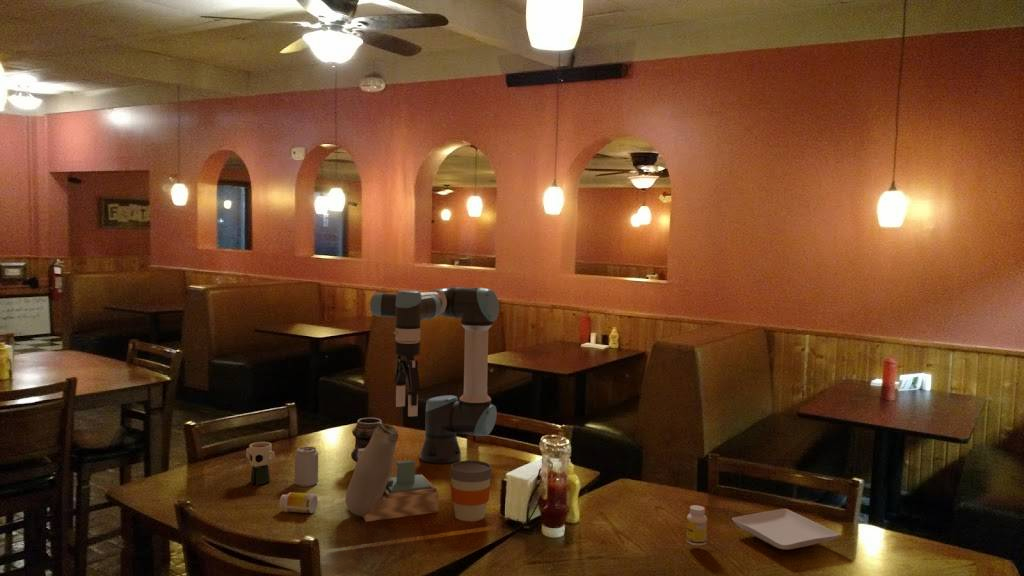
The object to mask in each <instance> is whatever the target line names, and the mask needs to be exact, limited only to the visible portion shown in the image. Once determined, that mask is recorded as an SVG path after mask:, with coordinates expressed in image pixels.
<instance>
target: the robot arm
mask: <svg viewBox="0 0 1024 576" xmlns="http://www.w3.org/2000/svg"><path fill="white" fill-rule="evenodd" d="M369 310H370V312H371V314H372V315H373V316H375V317H380V318H395V330H394V331H393V335H395V339H394V340H395V341H396V342H395V343H394V354H395V355H396V356H397V357H396V367H395V374H394V379H393V380H394V381H393V382H394V383H395V385H396V388H395V393H396V394H395V407H396V408H397V407H398V408H399V407H405V406H406V386H407V387H408V392H407V396H408V397H407V401H408V402H407V403H408V404H407V417H418V414H419V413H418V412H419V411H418V408H419V407H418V406H419V404H418V403H419V394H421V392H422V391H421V386H420V385H421V383H420V377H419V376H420V375H419V366H418V364H419V362H418V360H415V358H414V357H416V356H419V355H420V354H421V343H420V341H421V330H422V329H421V321H424V320H431V319H433V318H436V317H437V316H439V317H444V318H445V317H446V318H451V319H460V325H461V327H463V329H464V356H463V357H464V360H463V361H464V363H463V364H464V367H463V371H464V372H463V394H462V395H461V396H460V397H459V399H458V396H456V395H450V394H449V395H440V396H439V395H438V396H435V397H434V396H433V397H431V398H428V400H427V401H426V405H425V411H424V412H425V436H424V437H425V438H424V440H423V442H422V443H423V444H422V446H421V449H420V455H419V456H420V458H421V459H420V460H421V461H423V462H425V463H430V464H437V465H438V464H439V465H440V464H443V465H444V464H450V463H451V464H453V463H456V462H459V461H461V459H462V457H461V455H462V452H461V448H460V445H459V442H458V438H457V434H462V435H468V436H469V435H471V436H474V437H487V436H488V435H490V433H491V432H492V431H493V429H494V427H495V424H496V421H497V414H498V410H497V406H495V405H494V404H492V398H491V397H490V396H489V395H488V367H489V364H488V363H489V330H490V328H491V327H492V326H493V324H494V323H493V322H495V321H497V319H498V316H499V313H500V303H499V299H498V295H497V294H496V292H495V291H494V290H493V289H491V288H485V287H467V286H465V287H464V286H448V287H442V288H433V289H430V290H428V291H426V292H424V291H423V292H422V291H421V292H420V291H419V290H398V291H397V292H396V293H385V292H381V293H379V292H377V293H374V294H373V295H372V296H371V298H370V302H369Z"/></svg>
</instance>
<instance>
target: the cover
mask: <svg viewBox="0 0 1024 576" xmlns="http://www.w3.org/2000/svg"><path fill="white" fill-rule="evenodd" d="M415 469H416V462H415V461H414V460H413V459H407V460H397V461H396V476H395V477H390V478H391V479H392V480H393V484H388V485H386V489H387V490H388V491H389V493H397V492H406V491H414V490H423V489H430V486H429V485H428V484H427V483H426V482H425V480H424V479H423V478H422V477H421V476H420V475H419V474H416V473H415V472H416V470H415Z"/></svg>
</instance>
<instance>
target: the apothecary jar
mask: <svg viewBox="0 0 1024 576" xmlns="http://www.w3.org/2000/svg"><path fill="white" fill-rule="evenodd" d="M380 424H383V422H382V420H381V419H380V418H377V417H363V418H359V419H358V420H357V421H356V425H355V426H354V427H352V431H351V433H352V435H353V437H354V438H355V444H354V449H352V451H351V454H350V458H351V459H352V460H353V461H354V462H356V463H357V461H358V449H362V448H366V446H367V445H368V444H369V442H370V440H371V437H372V434H373V431H374V430H375V428H376V427H377V426H378V425H380Z"/></svg>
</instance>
